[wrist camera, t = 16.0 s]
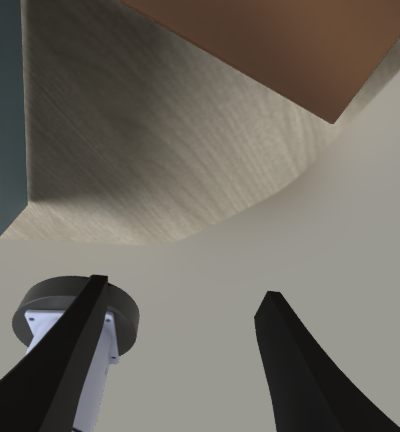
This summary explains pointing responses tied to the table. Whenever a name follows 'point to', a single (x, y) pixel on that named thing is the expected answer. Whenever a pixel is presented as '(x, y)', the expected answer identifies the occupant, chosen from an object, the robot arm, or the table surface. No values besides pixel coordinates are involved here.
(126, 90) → the table surface
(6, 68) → the blue cabinet door
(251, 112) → the table surface
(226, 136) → the table surface
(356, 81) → the cabinet
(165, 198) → the table surface
